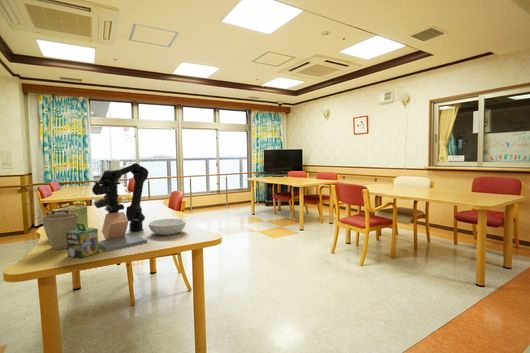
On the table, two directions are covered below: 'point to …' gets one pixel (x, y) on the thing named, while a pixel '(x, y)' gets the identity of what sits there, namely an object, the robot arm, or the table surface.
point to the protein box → (78, 210)
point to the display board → (121, 242)
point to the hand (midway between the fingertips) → (112, 221)
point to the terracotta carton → (115, 225)
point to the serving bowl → (166, 226)
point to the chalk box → (82, 242)
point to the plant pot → (59, 228)
